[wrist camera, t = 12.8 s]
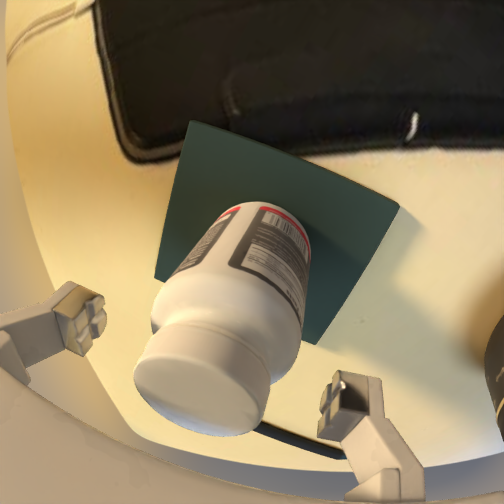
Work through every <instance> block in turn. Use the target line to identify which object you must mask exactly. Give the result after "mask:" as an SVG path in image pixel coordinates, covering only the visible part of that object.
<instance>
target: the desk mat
mask: <svg viewBox="0 0 504 504" xmlns="http://www.w3.org/2000/svg"><path fill="white" fill-rule="evenodd" d="M246 202H265V203H270V204H273V205H276V206H279V207H281V208H282V209H284V210H286V211H288V212H289V213H290V214H292V215H293V216H294V217H295V218H296V219H297V220H298V221H299V222H300V224H301V225H302V226H303V228H304V229H305V231H306V233H307V236H308V239H309V243H310V249H311V259H310V268H309V277H308V285H307V295H306V303H305V312H304V321H303V328H302V337H301V340H303V341H306V342H308V343H311V344H314V345H316V344H317V342H318V341H319V339H320V338H321V336H322V335H323V333H324V332H325V331H326V329H327V328H328V326H329V325H330V323H331V322H332V320H333V319H334V317H335V316H336V314H337V313H338V311H339V310H340V308H341V307H342V305H343V303H344V302H345V300H346V299H347V297H348V296H349V294H350V292H351V291H352V289H353V288H354V286H355V285H356V283H357V281H358V280H359V278H360V276H361V275H362V273H363V271H364V270H365V268H366V267H367V265H368V263H369V261H370V260H371V258H372V256H373V255H374V253H375V251H376V250H377V248H378V246H379V244H380V243H381V241H382V239H383V237H384V235H385V234H386V232H387V230H388V228H389V226H390V225H391V223H392V221H393V219H394V217H395V215H396V214H397V212H398V210H399V208H400V206H399V204H398V203H397V202H395V201H393V200H391V199H389V198H387V197H385V196H383V195H381V194H379V193H377V192H375V191H373V190H371V189H368V188H366V187H364V186H362V185H360V184H358V183H356V182H354V181H352V180H349V179H347V178H345V177H343V176H341V175H338V174H336V173H334V172H332V171H329V170H327V169H325V168H323V167H320V166H318V165H316V164H313V163H311V162H308V161H306V160H304V159H301V158H299V157H296V156H294V155H291V154H289V153H286V152H284V151H281V150H279V149H276V148H274V147H271V146H268V145H266V144H263V143H260V142H258V141H255V140H252V139H250V138H247V137H244V136H241V135H238V134H235V133H233V132H230V131H227V130H224V129H221V128H218V127H215V126H212V125H209V124H206V123H202V122H199V121H196V120H191V121H190V123H189V126H188V130H187V133H186V137H185V141H184V144H183V148H182V152H181V156H180V159H179V163H178V167H177V171H176V175H175V179H174V183H173V188H172V192H171V196H170V201H169V205H168V210H167V214H166V219H165V223H164V228H163V233H162V238H161V243H160V248H159V254H158V259H157V264H156V270H155V276H154V278H155V279H157V280H160V281H162V282H164V283H165V282H166V281H167V280H168V279H169V278H170V276H171V275H172V274H173V273H174V272H175V271H176V269H177V268H178V267H179V266H180V264H181V263H182V262H183V261H184V260H185V258H186V257H187V256H188V255H189V253H190V252H191V251H192V249H193V248H194V247H195V246H196V245H197V243H198V242H199V241H200V240H201V238H202V237H203V236H204V235H205V234H206V232H207V231H208V230H209V228H210V227H211V226H212V225H213V224H214V222H215V221H216V220H217V219H218V218H219V217H220V216H221V215H222V214H223V213H224V212H226V211H227V210H228V209H230V208H232V207H234V206H236V205H239V204H242V203H246Z"/></svg>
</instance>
